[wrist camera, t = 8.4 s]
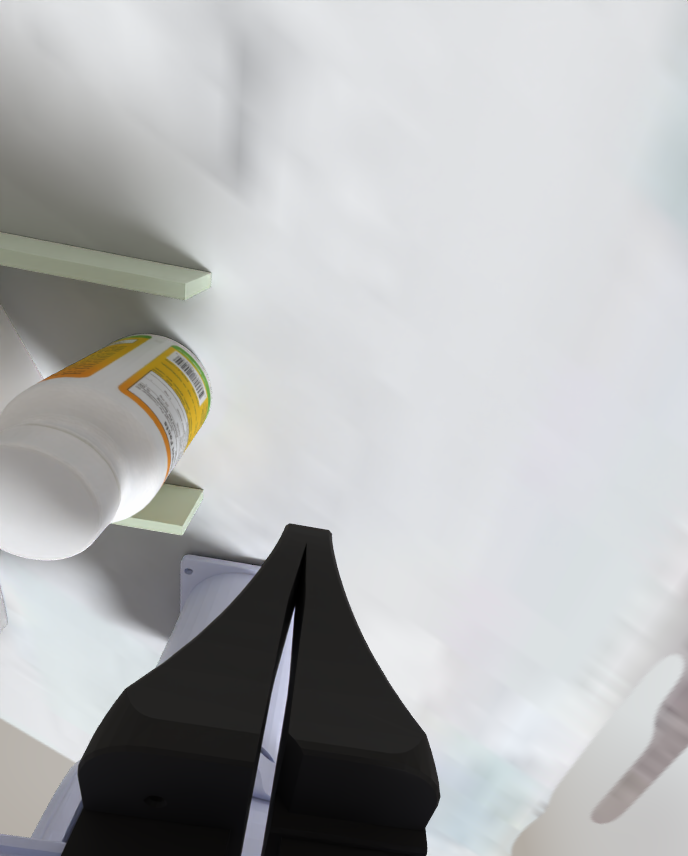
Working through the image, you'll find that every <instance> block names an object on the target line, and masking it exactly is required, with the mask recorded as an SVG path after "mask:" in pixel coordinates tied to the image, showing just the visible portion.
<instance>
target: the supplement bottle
mask: <svg viewBox="0 0 688 856" xmlns="http://www.w3.org/2000/svg"><path fill="white" fill-rule="evenodd" d="M211 403H212V389H211V384H210V380H209V377H208V375H207V373H206V371H205V369H204V367H203V365H202V364H201V363H200V361H199V360H198V359H197V358H196V356H195V355H194V354H193V353H192V352H190V351H189V350H188V349H187V348H186V347H184V346H183V345H181V344H179V343H178V342H176V341H174V340H172V339H169V338H166V337H163V336H159V335H153V334H136V335H131V336H127V337H124V338H122V339H119V340H117V341H115V342H113V343H111V344H109V345H107V346H106V347H104V348H102V349H100V350H98V351H97V352H95V353H93V354H91V355H89V356H87V357H85V358H84V359H82V360H80V361H78V362H76V363H74V364H72V365H70V366H68V367H66V368H64V369H63V370H61V371H59V372H57V373H55V374H53V375H51V376H49V377H47V378H46V379H44V380H42V381H40V382H38V383H37V384H35V385H33V386H31V387H29V388H28V389H26V390H25V391H23V392H22V393H20V394H19V395H17V396H16V397H15V398H14V399H13V400H11V401H10V402H9V403H8V404H7V406H6V407H5V409H4V410H3V412H2V413H1V415H0V549H2V550H4V551H6V552H8V553H11V554H14V555H17V556H19V557H24V558H29V559H34V560H60V559H65V558H68V557H72V556H74V555H76V554H79V553H81V552H82V551H84V550H85V549H87V548H88V547H89V546H90V545H91V544H92V543H93V542H94V541H95V540H96V539H97V538H98V536H99V535H100V534H101V533H102V532H103V530H104V529H105V528H106V527H107V526H108V525H109V524H110V523H114V522H118V521H121V520H124V519H126V518H129V517H131V516H133V515H134V514H136V513H138V512H139V511H141V510H142V509H143V508H144V507H145V506H146V505H147V504H149V502H150V501H151V500H152V499H153V498H154V496H155V495H156V494H157V492H158V491H159V490H160V488H161V487H162V485H163V483H164V482H165V480H166V479H167V477H168V476H169V474H170V472H171V471H172V470H173V468H174V466H175V465H176V463H177V462H178V460H179V459H180V458H181V456H182V454H183V453H184V451H185V450H186V448H187V447H188V445H189V444H190V443H191V441H192V440H193V438H194V437H195V435H196V434H197V432H198V431H199V429H200V428H201V426H202V425H203V423H204V421H205V419H206V418H207V416H208V414H209V411H210V408H211Z"/></svg>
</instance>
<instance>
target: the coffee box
mask: <svg viewBox="0 0 688 856" xmlns="http://www.w3.org/2000/svg"><path fill="white" fill-rule="evenodd" d="M7 623H8V621H7V615H6V610H5V606H4V601H3V596H2V592H1V587H0V633H1V631H2V630H3V629H4V628H5V627H6V625H7Z"/></svg>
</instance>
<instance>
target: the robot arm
mask: <svg viewBox="0 0 688 856" xmlns="http://www.w3.org/2000/svg"><path fill="white" fill-rule="evenodd" d="M188 568H189V569H188ZM190 569H191V570H190ZM439 800H440V790H439V781H438V776H437V772H436V767H435V763H434V759H433V755H432V752H431V748H430V745H429V742H428V739H427V736H426V734H425V732H424V731H423V730H422V728H421V727H420V726H419V725H418V723H417V722H416V721H415V719H414V718H413V717H412V715H411V714H410V712H409V711H408V710H407V708H406V707H405V706H404V704H403V703H402V701H401V700H400V698H399V697H398V695H397V694H396V692H395V691H394V689H393V688H392V686H391V685H390V683H389V682H388V680H387V678H386V676H385V675H384V673H383V671H382V670H381V668H380V666H379V665H378V663H377V661H376V660H375V658H374V656H373V654H372V653H371V651H370V649H369V647H368V645H367V643H366V641H365V639H364V637H363V635H362V633H361V631H360V628H359V626H358V624H357V622H356V619H355V617H354V615H353V612H352V610H351V607H350V605H349V602H348V599H347V597H346V594H345V591H344V588H343V585H342V581H341V578H340V575H339V571H338V568H337V564H336V559H335V555H334V550H333V544H332V533H331V532H330V531H329V530H325V529H319V528H313V527H307V526H302V525H296V524H288V525H286V526H285V529H284V531H283V533H282V535H281V537H280V539H279V541H278V543H277V544H276V546H275V547H274V549H273V551H272V552H271V554H270V555H269V557H268V558H267V559H266V561H265V562H264V564H263V565H262V566H256V565H250V564H244V563H238V562H232V561H226V560H220V559H214V558H208V557H202V556H196V555H185V556H184V557H183V558H182V560H181V563H180V616H179V618H178V620H177V622H176V625H175V627H174V629H173V631H172V633H171V636H170V638H169V640H168V642H167V644H166V646H165V649H164V651H163V653H162V655H161V657H160V660H159V662H158V664H157V666H156V668H155V669H153V670H152V671H150V672H149V673H148V674H146V675H145V676H143V677H142V678H140V679H139V680H137V681H136V682H135V683H133V684H132V685H130V686H129V687H127V688H126V689H125V690H124V691H123V692H122V694H121V695H120V696H119V698H118V699H117V700H116V702H115V703H114V704H113V706H112V707H111V709H110V710H109V711H108V713H107V714H106V716H105V717H104V719H103V720H102V722H101V724H100V725H99V727H98V728H97V730H96V732H95V733H94V735H93V737H92V739H91V741H90V743H89V745H88V747H87V749H86V751H85V753H84V755H83V757H82V759H81V760H80V761H78V762H76V763H75V764H74V765H73V766H72V767H71V769H70V770H69V771H68V773H67V774H66V776H65V777H64V779H63V780H62V782H61V784H60V785H59V787H58V789H57V790H56V792H55V794H54V795H53V798H52V799H51V801H50V803H49V804H48V806H47V808H46V810H45V812H44V813H43V815H42V817H41V819H40V821H39V823H38V825H37V827H36V829H35V830H34V832H33V834H32V836H31V838H27V837H20V836H13V835H5V834H0V856H426V855H427V840H426V830H425V827H426V826H427V824H428V822H429V820H430V818H431V817H432V815H433V813H434V811H435V809H436V808H437V806H438V803H439Z"/></svg>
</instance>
